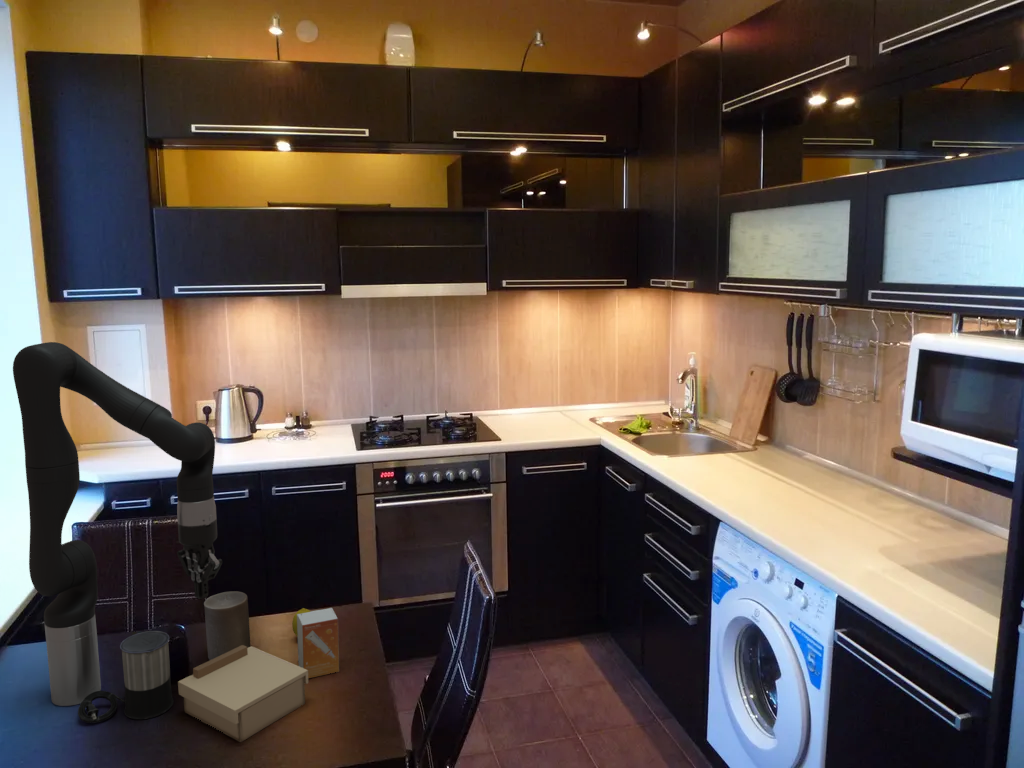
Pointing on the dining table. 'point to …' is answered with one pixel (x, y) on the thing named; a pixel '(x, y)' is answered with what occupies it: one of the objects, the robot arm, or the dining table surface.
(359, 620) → the dining table surface
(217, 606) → the pillar candle
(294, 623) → the lemon
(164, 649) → the milk frother
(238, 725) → the tray
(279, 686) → the lid
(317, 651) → the small box
